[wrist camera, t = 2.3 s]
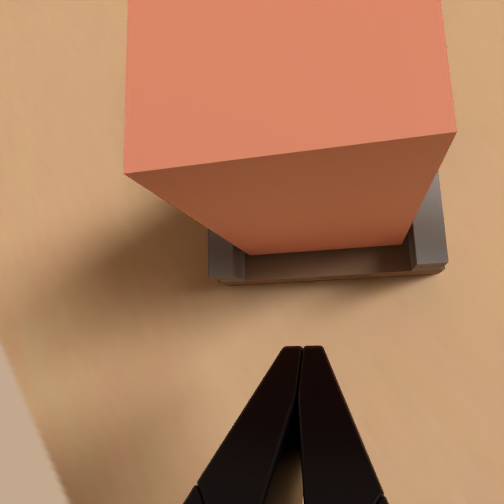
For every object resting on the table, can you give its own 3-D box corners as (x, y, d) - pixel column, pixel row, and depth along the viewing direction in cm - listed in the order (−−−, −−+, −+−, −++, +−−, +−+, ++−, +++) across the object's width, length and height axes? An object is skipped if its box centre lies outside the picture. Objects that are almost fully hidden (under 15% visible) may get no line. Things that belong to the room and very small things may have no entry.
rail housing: (438, 273, 18) (455, 261, 14) (228, 285, 20) (201, 276, 17) (407, -13, 20) (416, -81, 17) (223, 24, 22) (199, -30, 19)
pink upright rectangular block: (401, 244, 17) (456, 131, 7) (249, 255, 18) (123, 173, 8) (392, 146, 17) (431, -78, 8) (247, 164, 19) (127, -7, 9)
